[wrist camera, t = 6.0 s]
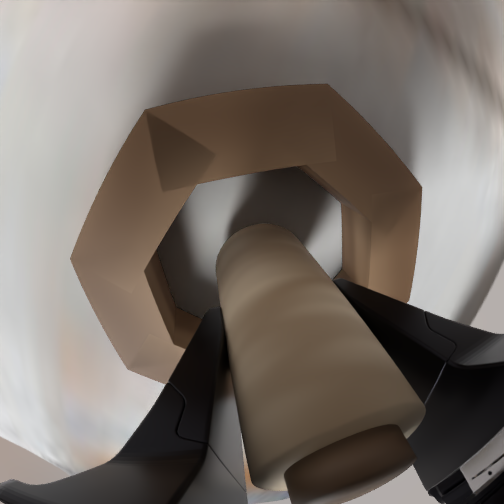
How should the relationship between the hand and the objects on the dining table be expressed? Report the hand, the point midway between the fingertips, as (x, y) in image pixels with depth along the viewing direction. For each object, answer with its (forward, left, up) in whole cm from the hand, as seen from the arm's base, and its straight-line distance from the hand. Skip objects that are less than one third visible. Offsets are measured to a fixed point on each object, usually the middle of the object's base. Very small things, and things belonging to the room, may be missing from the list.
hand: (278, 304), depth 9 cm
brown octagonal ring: (0, 0, -4) cm, 4 cm away
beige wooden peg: (0, 0, -2) cm, 2 cm away
